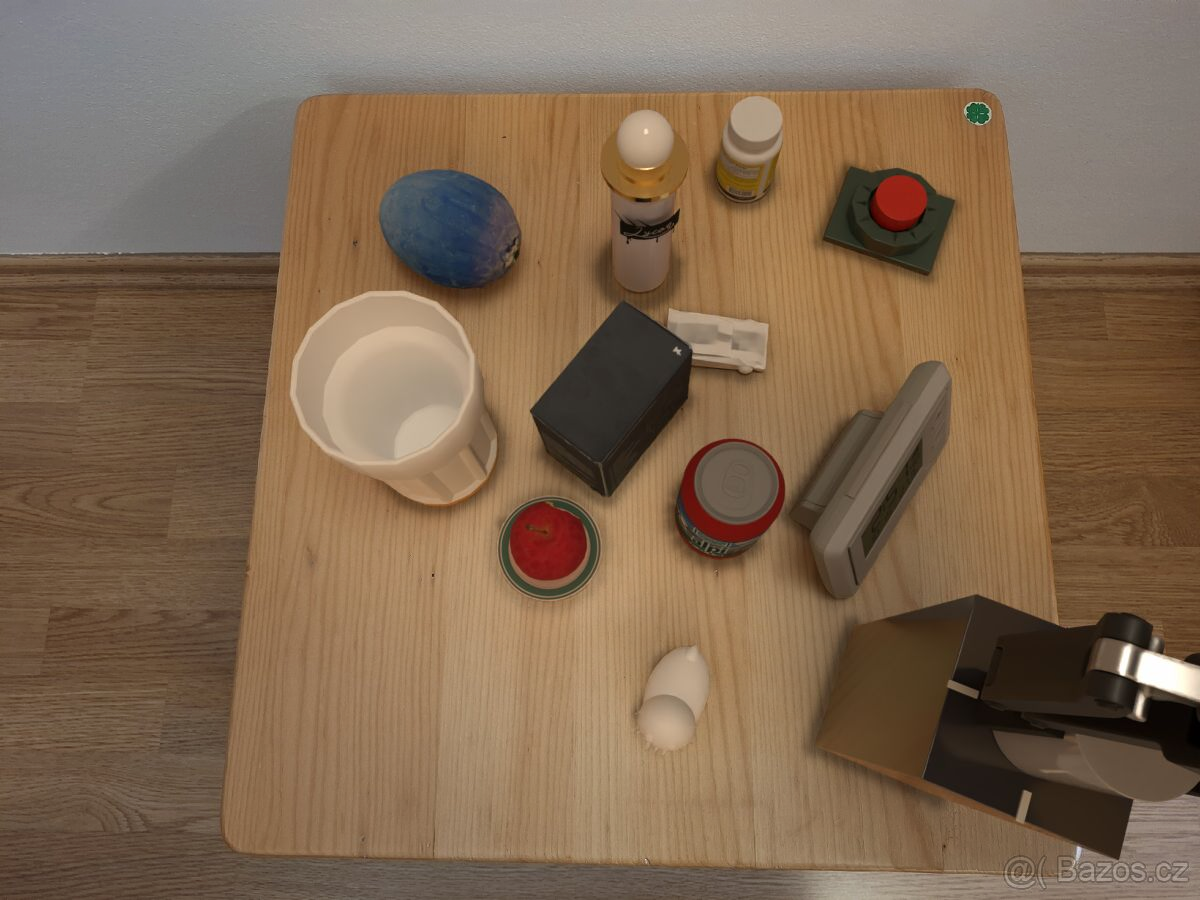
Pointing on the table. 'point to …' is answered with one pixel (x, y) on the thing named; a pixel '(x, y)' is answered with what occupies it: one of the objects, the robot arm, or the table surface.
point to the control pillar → (953, 721)
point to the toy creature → (674, 699)
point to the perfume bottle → (643, 196)
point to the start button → (898, 203)
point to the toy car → (722, 340)
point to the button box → (897, 247)
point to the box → (614, 397)
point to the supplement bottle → (749, 149)
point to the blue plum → (450, 228)
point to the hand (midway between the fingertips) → (1058, 723)
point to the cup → (397, 396)
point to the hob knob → (1098, 765)
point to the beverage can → (728, 498)
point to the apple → (549, 548)
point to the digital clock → (874, 477)
